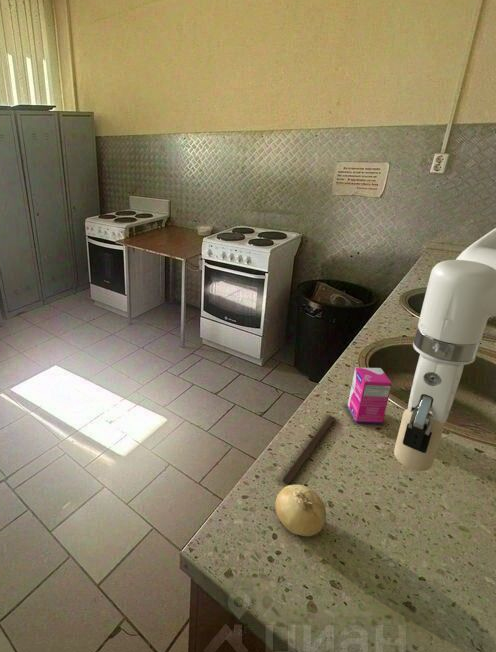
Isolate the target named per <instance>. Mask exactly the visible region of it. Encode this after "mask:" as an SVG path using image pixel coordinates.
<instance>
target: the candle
mask: <svg viewBox="0 0 496 652" xmlns="http://www.w3.org/2000/svg"><path fill="white" fill-rule="evenodd" d="M417 409H419V407H418V408H417ZM412 412H413V411H412ZM412 412H410V411H409V409H408V408H406V409H405V410H403V413H402V416H401V417H402V418H401V421H400V425H399V429H398V433H397V437H396V441H395V445H394V449H393V454H394V457H395V459H396V460H397V461H398V462H399V463H400V464H401V465H403V466H404V467H407V468H409V469H411V470H414V471H419V472H427V471H429V470H430V469H432V467H433V465H434V462H435V459H436V455H437V452H438V449H439V445H440V442H441V439H442V435H443V433H444V429H445V423H440V422H437V421H435V420H434V421H433V424H432V427H431V430H430V432H432V435H431V438H430V441H429V445H428V448H427V451H426V453H422V452H420V451H417V450H415V449H413V448H410V447H408V446H405V445H404V444H403V439H404V435H405V431H406V428H407V424H408V423H409V422H410V419H411V415H412ZM428 413H429V414H432V411H429V412H428ZM428 422H429V419H427V418H426V421H425V424H427V425H428Z"/></svg>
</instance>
